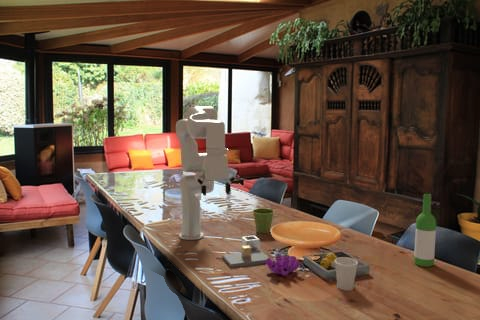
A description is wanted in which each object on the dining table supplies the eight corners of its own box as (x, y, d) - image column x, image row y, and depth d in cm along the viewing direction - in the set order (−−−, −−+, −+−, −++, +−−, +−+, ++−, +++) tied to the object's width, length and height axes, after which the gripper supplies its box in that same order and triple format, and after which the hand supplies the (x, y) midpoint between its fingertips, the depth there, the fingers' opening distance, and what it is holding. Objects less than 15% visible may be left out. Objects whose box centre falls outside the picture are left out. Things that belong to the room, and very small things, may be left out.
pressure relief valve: (316, 268, 176) (328, 261, 183) (342, 280, 168) (353, 272, 176) (318, 255, 174) (330, 249, 182) (345, 267, 167) (356, 260, 175)
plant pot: (250, 234, 223) (250, 213, 222) (254, 227, 235) (254, 207, 233) (272, 235, 220) (272, 214, 219) (276, 229, 232) (276, 208, 230)
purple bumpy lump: (267, 285, 168) (257, 262, 171) (292, 274, 178) (282, 253, 181) (284, 275, 160) (273, 251, 164) (309, 264, 170) (298, 242, 174)
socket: (241, 249, 200) (241, 236, 199) (254, 247, 202) (254, 235, 201) (246, 253, 194) (246, 240, 193) (259, 252, 196) (259, 239, 195)
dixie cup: (329, 287, 158) (329, 260, 157) (341, 280, 164) (342, 255, 162) (349, 294, 152) (350, 267, 151) (361, 287, 158) (362, 261, 157)
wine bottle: (434, 263, 182) (438, 193, 178) (432, 269, 175) (436, 197, 172) (415, 259, 186) (418, 191, 182) (412, 265, 179) (416, 195, 175)
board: (222, 258, 188) (222, 244, 187) (260, 253, 194) (260, 240, 193) (230, 267, 177) (230, 253, 176) (271, 262, 183) (271, 248, 182)
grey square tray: (302, 263, 182) (302, 255, 181) (342, 258, 188) (342, 250, 188) (326, 280, 164) (326, 272, 163) (369, 274, 170) (369, 265, 169)
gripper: (233, 150, 178) (233, 191, 180) (192, 152, 172) (193, 193, 174) (239, 152, 170) (239, 194, 173) (196, 154, 165) (197, 197, 167)
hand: (216, 194), depth 173 cm, fingers open, 9 cm apart
